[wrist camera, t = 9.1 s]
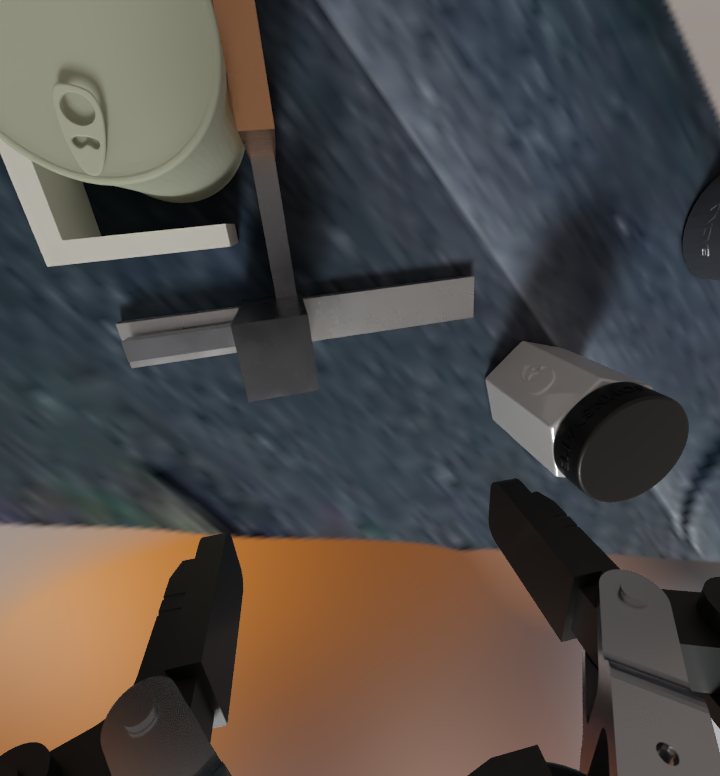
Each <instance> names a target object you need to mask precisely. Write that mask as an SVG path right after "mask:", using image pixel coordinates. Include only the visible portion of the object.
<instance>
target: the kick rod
mask: <svg viewBox="0 0 720 776" xmlns="http://www.w3.org/2000/svg"><path fill="white" fill-rule="evenodd" d="M213 6H214V11H215V15H216V19H217V24H218V29H219V35H220V41H221V45H222V49H223V54H224V60H225V66H226V73H227V79H228V84H229V89H230V94H231V100H232V105H233V110H234V115H235V120H236V126H237V131H238V133H239V136H240V138H241V140H242V143H243V145H244V147H245V150H246V152H247V154H248V157H249V159H250V160H251V164H252V170H253V175H254V181H255V186H256V192H257V197H258V202H259V208H260V213H261V219H262V224H263V230H264V235H265V240H266V246H267V251H268V257H269V262H270V268H271V273H272V278H273V284H274V289H275V296H268V297H260V298H252V299H245V300H242V302H241V304H240V306H239V309H238V311H237V313H236V315H235V317H234V319H233V321H232V323H227V324H220V325H213V326H206V327H198V328H191V329H184V330H177V331H170V332H162V333H155V334H148V335H141V336H133V337H128V338H126V339H125V340H124V341H122V342H121V343H122V345H123V348H124V351H125V353H126V356H127V359H128V362H133V361H140V360H147V359H154V358H161V357H168V356H174V355H181V354H188V353H195V352H202V351H208V350H215V349H222V348H229V347H236V351H237V355H238V359H239V363H240V367H241V372H242V376H243V380H244V384H245V388H246V392H247V397H248V401H249V402H251V401H257V400H263V399H269V398H275V397H281V396H287V395H293V394H299V393H305V392H311V391H317V390H319V384H318V377H317V371H316V364H315V358H314V351H313V345H312V338H311V331H310V325H309V318H308V313H307V310H306V307H305V304H304V301H303V298H302V295H301V292H298V293H296V287H295V280H294V274H293V268H292V262H291V256H290V250H289V243H288V237H287V231H286V225H285V219H284V213H283V206H282V200H281V194H280V188H279V182H278V175H277V169H276V163H275V158H276V149H275V127H274V121H273V114H272V108H271V102H270V95H269V89H268V83H267V76H266V70H265V63H264V57H263V51H262V44H261V38H260V32H259V25H258V19H257V13H256V6H255V0H213Z"/></svg>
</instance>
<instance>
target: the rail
mask: <svg viewBox="0 0 720 776" xmlns="http://www.w3.org/2000/svg"><path fill="white" fill-rule="evenodd" d="M302 298H303V301H304V304H305V307H306V310H307V313H308V318H309V325H310V331H311V338H312V341H317V340H324V339H331V338H337V337H344V336H351V335H357V334H364V333H371V332H378V331H384V330H391V329H398V328H404V327H411V326H418V325H425V324H431V323H438V322H445V321H451V320H458V319H465V318H472V317H473V305H474V276H470V275H465V276H457V277H450V278H442V279H434V280H427V281H419V282H412V283H404V284H397V285H389V286H382V287H374V288H366V289H359V290H351V291H344V292H336V293H329V294H321V295H313V296H306V297H302ZM239 306H240V305H238V306H230V307H223V308H215V309H208V310H200V311H193V312H185V313H177V314H170V315H162V316H155V317H147V318H140V319H132V320H125V321H120V322H119V323H117V324H116V326H117V329H118V332H119V334H120V337H121V340H122V341H124V340H125V339H126V338H128V337H133V336H141V335H148V334H155V333H162V332H170V331H177V330H184V329H191V328H198V327H206V326H213V325H220V324H227V323H232V321H233V319H234V317H235V315H236V313H237V311H238V309H239ZM230 353H237V351H236V347H229V348H222V349H215V350H208V351H202V352H195V353H188V354H181V355H174V356H168V357H161V358H154V359H147V360H140V361H133V362H130V365H131V367H132V368H136V367H143V366H149V365H156V364H163V363H170V362H176V361H183V360H190V359H196V358H203V357H210V356H217V355H223V354H230Z"/></svg>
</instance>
